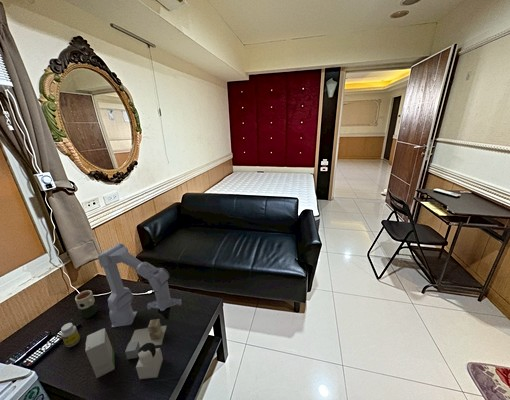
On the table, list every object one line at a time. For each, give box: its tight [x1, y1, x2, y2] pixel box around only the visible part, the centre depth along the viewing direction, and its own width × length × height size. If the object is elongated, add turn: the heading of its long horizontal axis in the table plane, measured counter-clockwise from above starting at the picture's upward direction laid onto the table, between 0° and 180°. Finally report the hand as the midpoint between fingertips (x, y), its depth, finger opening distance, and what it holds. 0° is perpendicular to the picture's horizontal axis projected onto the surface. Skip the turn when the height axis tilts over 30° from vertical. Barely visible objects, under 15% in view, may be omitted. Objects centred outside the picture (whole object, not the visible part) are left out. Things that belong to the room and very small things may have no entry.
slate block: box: [124, 342, 140, 360], centre depth 93 cm, size 4×4×5 cm
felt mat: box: [129, 325, 167, 348], centre depth 101 cm, size 15×10×1 cm, turn 99°
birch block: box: [147, 318, 162, 340], centre depth 100 cm, size 4×4×8 cm
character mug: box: [74, 289, 98, 319], centre depth 112 cm, size 11×7×13 cm, turn 70°
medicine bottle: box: [135, 343, 164, 380], centre depth 86 cm, size 7×7×12 cm
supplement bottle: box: [60, 322, 81, 348], centre depth 98 cm, size 5×5×10 cm
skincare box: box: [85, 327, 116, 379], centre depth 87 cm, size 8×7×16 cm
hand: (167, 317), depth 99 cm, fingers closed
